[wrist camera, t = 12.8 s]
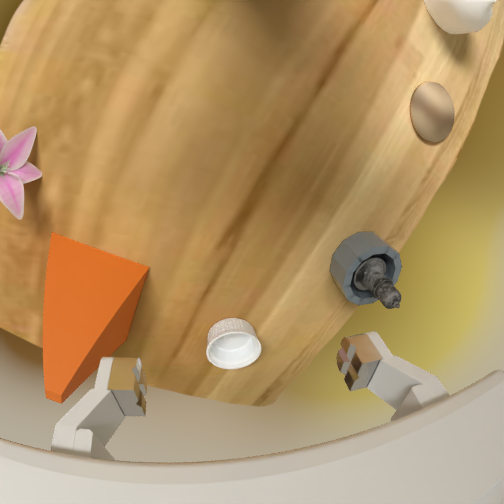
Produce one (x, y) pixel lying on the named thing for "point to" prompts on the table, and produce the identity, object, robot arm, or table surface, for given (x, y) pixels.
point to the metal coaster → (432, 111)
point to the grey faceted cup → (351, 258)
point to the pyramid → (84, 311)
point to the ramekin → (232, 344)
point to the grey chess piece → (376, 281)
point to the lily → (16, 169)
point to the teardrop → (460, 14)
